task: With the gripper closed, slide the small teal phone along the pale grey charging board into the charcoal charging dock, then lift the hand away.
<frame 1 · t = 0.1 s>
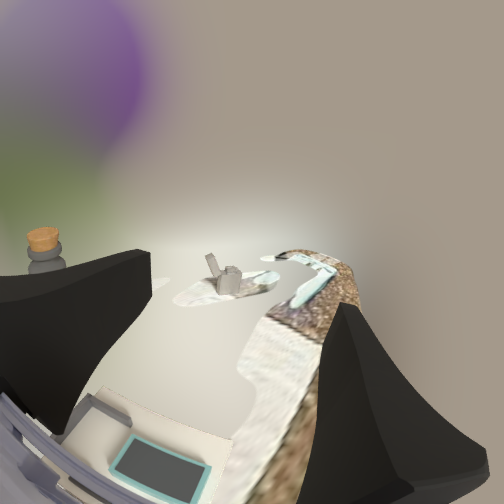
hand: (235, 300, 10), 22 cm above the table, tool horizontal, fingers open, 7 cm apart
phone: (161, 476, 17), point 1 cm above the table, touching charging board
bottle: (60, 328, 32), on the table
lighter: (220, 293, 51), on the table
charging board: (133, 465, 18), on the table
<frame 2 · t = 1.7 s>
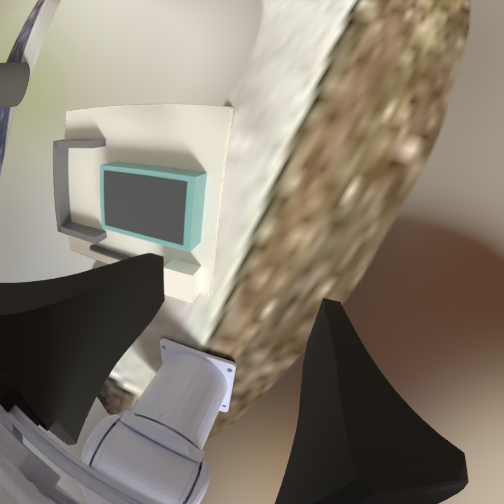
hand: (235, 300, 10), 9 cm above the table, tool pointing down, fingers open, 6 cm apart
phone: (154, 199, 19), point 1 cm above the table, touching charging board
bottle: (20, 84, 18), on the table
charging board: (128, 192, 20), on the table
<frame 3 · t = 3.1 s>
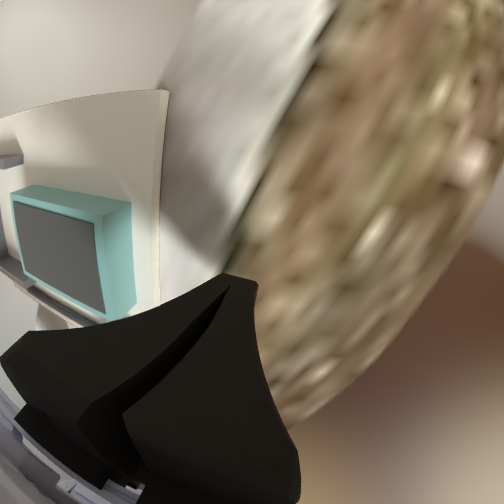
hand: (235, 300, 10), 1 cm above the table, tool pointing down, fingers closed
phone: (75, 238, 12), point 1 cm above the table, touching charging board
charging board: (52, 224, 13), on the table
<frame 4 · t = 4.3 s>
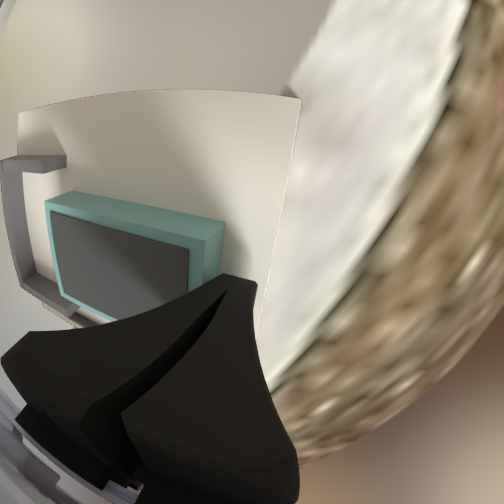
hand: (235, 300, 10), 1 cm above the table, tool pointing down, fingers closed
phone: (134, 257, 11), point 1 cm above the table, touching charging board, gripper
charging board: (107, 242, 12), on the table
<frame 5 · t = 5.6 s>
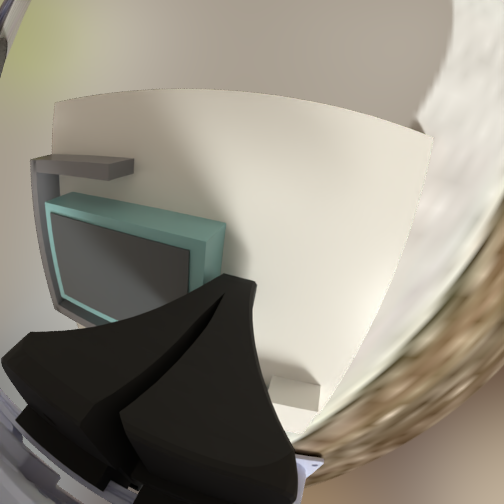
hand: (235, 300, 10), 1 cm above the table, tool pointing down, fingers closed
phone: (134, 258, 11), point 1 cm above the table, touching charging board, gripper
charging board: (184, 264, 11), on the table
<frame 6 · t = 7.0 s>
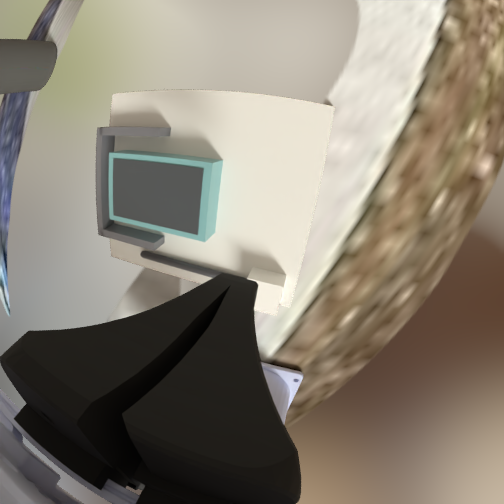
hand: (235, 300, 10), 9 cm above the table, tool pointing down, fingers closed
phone: (166, 188, 18), point 1 cm above the table, touching charging board
bottle: (44, 66, 17), on the table
charging board: (197, 190, 18), on the table
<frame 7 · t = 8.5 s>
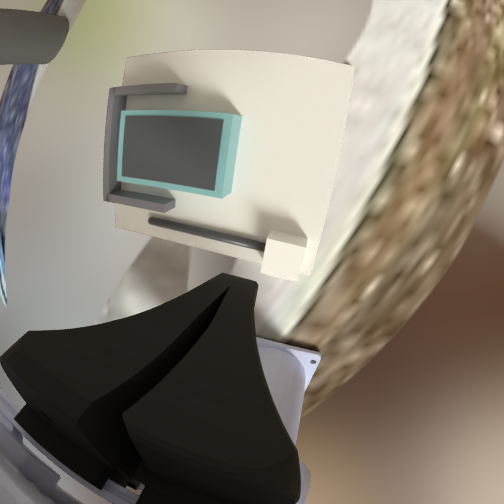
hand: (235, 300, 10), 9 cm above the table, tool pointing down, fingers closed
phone: (180, 147, 17), point 1 cm above the table, touching charging board
bottle: (54, 40, 15), on the table
charging board: (213, 150, 17), on the table
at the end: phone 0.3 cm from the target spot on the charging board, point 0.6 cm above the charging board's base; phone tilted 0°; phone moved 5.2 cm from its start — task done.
